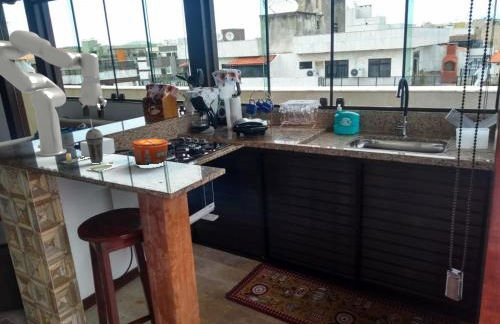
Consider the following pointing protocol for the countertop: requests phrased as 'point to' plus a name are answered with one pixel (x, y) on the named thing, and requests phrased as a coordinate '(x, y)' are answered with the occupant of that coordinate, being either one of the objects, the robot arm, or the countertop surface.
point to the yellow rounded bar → (69, 160)
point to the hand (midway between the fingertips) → (93, 117)
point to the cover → (106, 147)
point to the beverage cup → (95, 144)
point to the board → (101, 166)
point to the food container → (150, 151)
